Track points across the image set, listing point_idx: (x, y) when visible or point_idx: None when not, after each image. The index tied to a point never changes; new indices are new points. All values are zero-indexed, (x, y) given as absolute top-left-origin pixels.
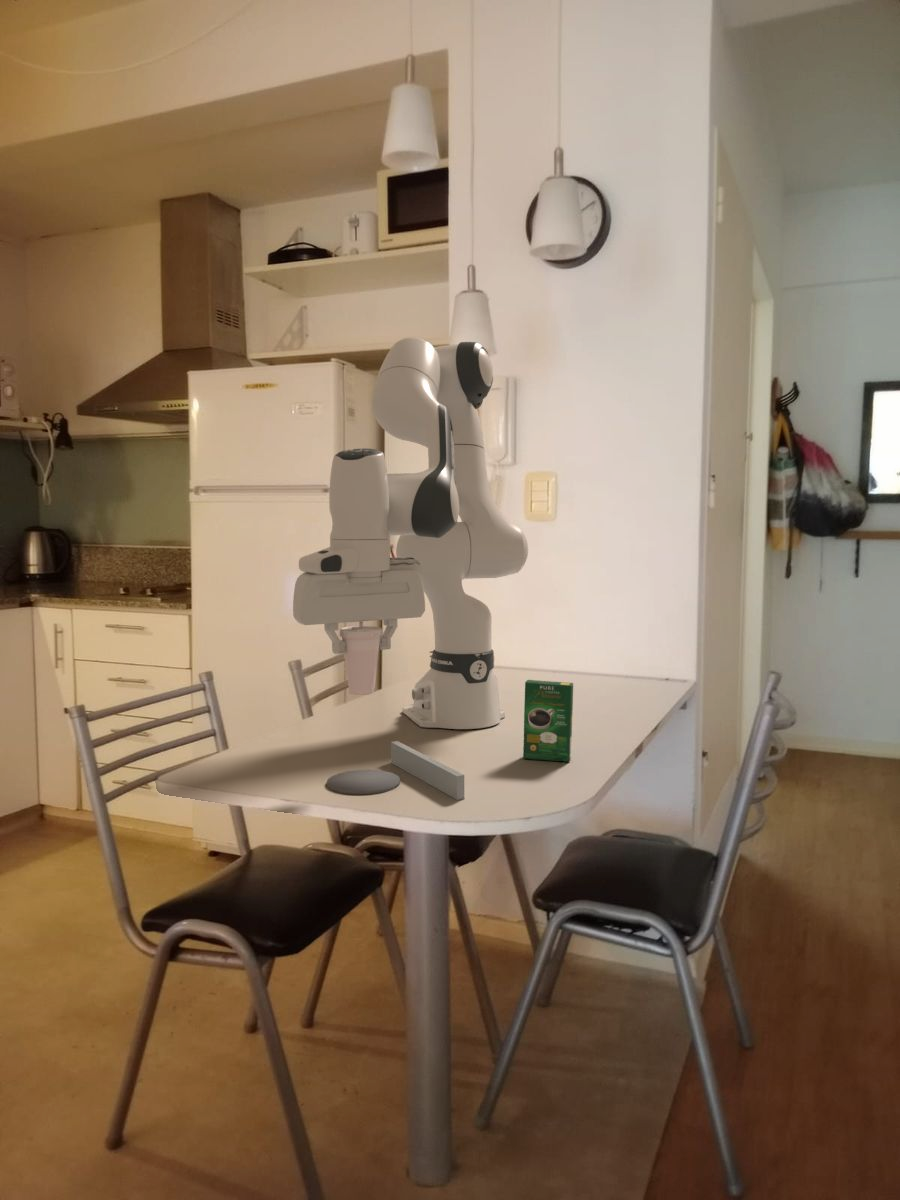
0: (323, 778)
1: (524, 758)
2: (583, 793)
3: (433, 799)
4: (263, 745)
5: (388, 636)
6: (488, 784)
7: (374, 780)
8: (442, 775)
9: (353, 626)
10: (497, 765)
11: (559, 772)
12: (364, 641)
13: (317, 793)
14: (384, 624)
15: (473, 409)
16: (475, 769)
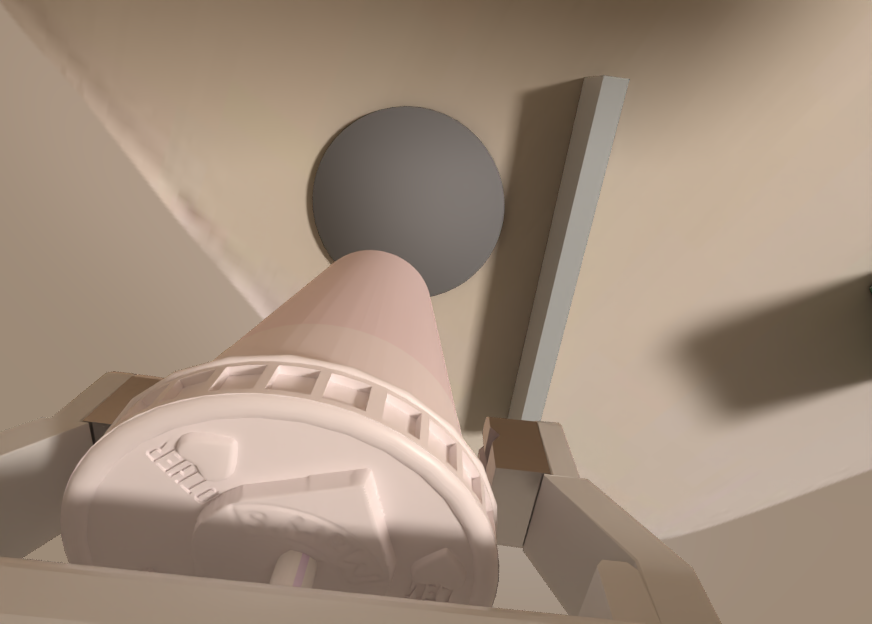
0: (338, 95)
1: (870, 289)
2: (716, 512)
3: (473, 390)
4: None
5: (538, 561)
6: (632, 382)
7: (428, 231)
8: (523, 387)
9: (279, 417)
10: (774, 285)
11: (815, 407)
12: None
13: (274, 208)
14: (592, 585)
15: None
16: (705, 279)
